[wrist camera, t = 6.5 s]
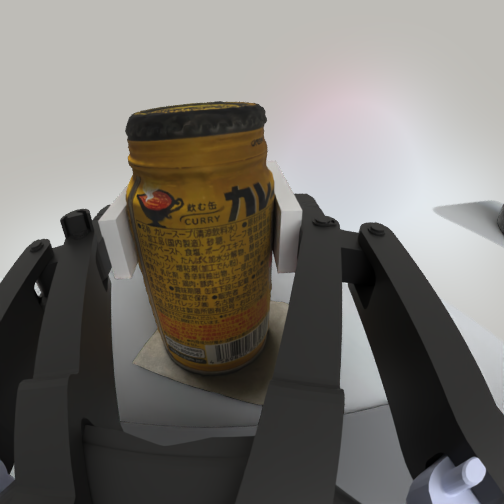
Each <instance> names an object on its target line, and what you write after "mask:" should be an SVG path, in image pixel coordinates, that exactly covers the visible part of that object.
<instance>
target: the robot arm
mask: <svg viewBox="0 0 504 504" xmlns="http://www.w3.org/2000/svg"><path fill="white" fill-rule="evenodd" d="M266 165H267V167H268V169H269V170H270V171H271V172H272V174H273V178H274V182H275V185H274V188H275V189H274V193H275V196H274V229H273V249H272V250H273V254H274V258H275V263H276V267H277V271H278V273H293V272H295V277H294V282H293V287H292V292H291V297H290V302H289V306H288V311H287V316H286V321H285V325H284V330H283V334H282V339H281V343H280V348H279V352H278V357H277V361H276V365H275V369H274V373H273V377H272V380H270V383H269V385H268V389H267V393H266V396H265V400H264V404H263V408H262V412H261V416H260V419H259V423H258V427H257V430H256V434H255V436H241V437H210V438H206V439H201V440H197V441H192V442H186V443H181V444H176V445H170V446H162V445H158V444H155V443H152V442H149V441H147V440H144V439H141V438H138V437H136V436H133V435H131V434H128V433H126V432H124V431H123V429H122V427H121V424H120V419H119V412H118V405H117V397H116V388H115V378H114V367H113V352H112V331H111V281H110V278H109V276H108V274H109V272H110V270H111V268H112V271H113V274H114V277H115V279H131V278H132V276H133V273H134V271H135V268H136V266H137V263H138V256H137V251H136V246H135V240H134V238H133V235H132V232H131V230H130V223H129V216H128V213H127V211H128V209H127V202H126V191H127V187H128V185H127V186H126V188H125V189H124V190H123V191H122V192H121V194H120V195H119V196H118V197H117V198H116V199H115V201H114V202H113V203H112V204H111V205H107V206H106V207H105V208H103V209H101V210H100V211H99V213H98V214H97V216H95V218H94V219H93V220H92V219H91V215H90V211H89V210H87V209H80V210H75V211H72V212H70V213H68V214H66V215H65V216H63V217H62V218H61V220H60V222H61V225H62V228H63V231H64V234H65V237H66V239H65V242H64V245H62V246H59V247H55V248H52V246H51V244H50V241H49V240H48V239H41V240H36V241H34V242H33V243H32V244H31V245H29V246H28V247H27V248H26V249H25V250H24V252H23V253H22V254H21V256H20V257H19V258H18V260H17V261H16V262H15V263H14V265H13V266H12V268H11V269H10V270H9V272H8V273H7V274H6V276H5V277H4V279H3V280H2V282H1V283H0V504H362V503H360V502H359V501H357V500H356V499H355V498H353V497H352V496H351V495H349V494H348V493H346V492H345V491H344V490H343V489H341V488H340V487H339V486H337V485H336V479H337V472H338V464H339V456H340V448H341V438H342V428H343V416H344V390H343V389H340V367H341V342H342V282H345V283H348V287H349V290H350V292H351V295H352V297H353V300H354V303H355V305H356V308H357V311H358V313H359V316H360V319H361V321H362V324H363V327H364V330H365V332H366V335H367V338H368V341H369V344H370V347H371V350H372V353H373V356H374V359H375V362H376V365H377V368H378V371H379V374H380V377H381V380H382V384H383V387H384V390H385V393H386V397H387V400H388V404H389V407H390V410H391V414H392V418H393V421H394V425H395V429H396V432H397V436H398V440H399V444H400V448H401V451H402V454H403V458H404V461H405V464H406V466H407V468H408V470H409V473H410V475H411V477H412V479H413V482H412V484H411V486H410V488H409V492H408V495H407V497H406V504H504V415H503V413H502V412H501V411H500V410H499V408H498V407H497V406H496V404H495V401H494V399H493V397H492V395H491V392H490V390H489V388H488V386H487V384H486V381H485V379H484V377H483V375H482V373H481V371H480V369H479V367H478V365H477V363H476V361H475V359H474V357H473V355H472V353H471V352H470V350H469V348H468V346H467V344H466V342H465V341H464V339H463V337H462V335H461V333H460V332H459V330H458V328H457V326H456V325H455V323H454V321H453V320H452V318H451V316H450V315H449V313H448V311H447V310H446V308H445V307H444V305H443V303H442V302H441V300H440V299H439V297H438V295H437V294H436V292H435V291H434V289H433V288H432V286H431V285H430V283H429V282H428V280H427V279H426V277H425V276H424V275H423V273H422V271H421V270H420V269H419V267H418V266H417V264H416V263H415V262H414V260H413V259H412V258H411V256H410V255H409V253H408V252H407V250H406V249H405V248H404V246H403V245H402V244H401V242H400V241H399V240H398V238H397V237H396V236H395V235H394V233H393V232H392V231H391V230H390V229H389V228H388V227H386V226H384V225H382V224H379V223H364V224H362V225H361V226H360V230H359V233H356V232H350V231H344V230H341V229H340V225H339V223H338V221H337V220H335V219H334V218H331V217H329V216H325V215H324V213H323V212H322V210H321V209H320V208H319V206H318V204H317V203H316V201H315V200H314V198H313V197H311V196H309V195H308V194H294V193H293V192H292V190H291V188H290V186H289V184H288V182H287V180H286V179H285V177H284V175H283V173H282V171H281V170H280V168H279V166H278V164H277V162H276V161H266ZM498 225H499V227H500V229H501V230H502V232H503V233H504V204H503V206H502V208H501V211H500V215H499V218H498ZM35 283H37V285H38V287H39V289H40V291H41V294H40V296H38V295H37V294H36V292H35V290H34V285H35ZM13 465H14V467H15V479H14V478H13V477H12V476H10V472H11V470H12V468H13Z"/></svg>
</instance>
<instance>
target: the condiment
mask: <svg viewBox="0 0 504 504" xmlns="http://www.w3.org/2000/svg"><path fill="white" fill-rule="evenodd" d="M266 121H267V118H266V116H265V110H264V108H263V107H261V106H260V105H259V104H255V103H245V102H221V101H219V102H207V103H192V104H183V105H175V106H167V107H159V108H154V109H149V110H144V111H140V112H137V113H134V114H132V116H131V117H129V120H128V123H127V126H126V130H125V132H126V134H127V136H128V139H127V141H128V145H129V146H128V148H129V151H130V154H129V156H128V162H129V165H130V166H131V168H132V170H133V175H132V177H131V180H130V182H129V184H128V187H127V191H126V202H127V209H128V211H127V213H128V216H129V223H130V230H131V232H132V235H133V238H134V240H135V246H136V251H137V256H138V263H139V268H140V270H141V272H142V274H143V279H144V284H145V287H146V291H147V294H148V297H149V302H150V305H151V307H152V311H153V315H154V317H155V321H156V324H157V327H158V328H157V330H156V331H155V333H154V334H153V335H152V337H151V338H150V339H149V340H148V342H147V343H146V344H145V345H144V347H143V348H142V349H141V351H140V352H139V354H138V355H137V356H136V358H135V359H134V361H133V364H136V365H138V366H140V367H143V368H145V369H147V370H150V371H152V372H154V373H157V374H159V375H162V376H165V377H168V378H170V379H172V380H175V381H178V382H181V383H183V384H188V385H190V386H193V387H196V388H200V389H204V390H206V391H210V392H215V393H219V394H222V395H225V396H228V397H231V398H235V399H238V400H242V401H245V402H249V403H254V404H259V405H263V404H264V400H265V396H266V393H267V389H268V385H269V383H270V380H272V377H273V373H274V369H275V365H276V361H277V357H278V352H279V348H280V343H281V339H282V334H283V330H284V325H285V321H286V316H287V311H288V306H289V304H287V303H284V302H275V301H271V300H270V297H271V295H270V292H271V289H272V284H271V270H272V249H273V229H274V196H275V193H274V189H275V188H274V185H275V182H274V178H273V174H272V172H271V171H270V170H269V169H268V167H267V165H266V158H267V144H266V141H265V139H264V124H265V123H266Z"/></svg>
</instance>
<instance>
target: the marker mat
mask: <svg viewBox="0 0 504 504" xmlns="http://www.w3.org/2000/svg"><path fill="white" fill-rule="evenodd" d="M120 424H121V427H122V429H123V431H124V432H126V433H128V434H131V435H133V436H136V437H138V438H141V439H144V440H147V441H149V442H152V443H155V444H158V445H162V446H170V445H176V444H181V443H186V442H192V441H197V440H201V439H206V438H210V437H241V436H255V434H256V430H257V427H258V426H244V427H178V426H161V425H149V424H139V423H130V422H122V421H120ZM412 482H413V479H412V477H411V475H410V473H409V470H408V468H407V466H406V464H405V461H404V458H403V454H402V451H401V448H400V444H399V440H398V436H397V432H396V429H395V425H394V421H393V418H392V414H391V410H390V407H389V404H387V405H383V406H379V407H375V408H371V409H367V410H363V411H358V412H353V413H349V414H344V416H343V428H342V438H341V448H340V456H339V464H338V472H337V479H336V485H337V486H339V487H340V488H341V489H343V490H344V491H345V492H346V493H348V494H349V495H351V496H352V497H353V498H355V499H356V500H357V501H359V502H360V503H362V504H406V497H407V495H408V492H409V488H410V486H411V484H412Z"/></svg>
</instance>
